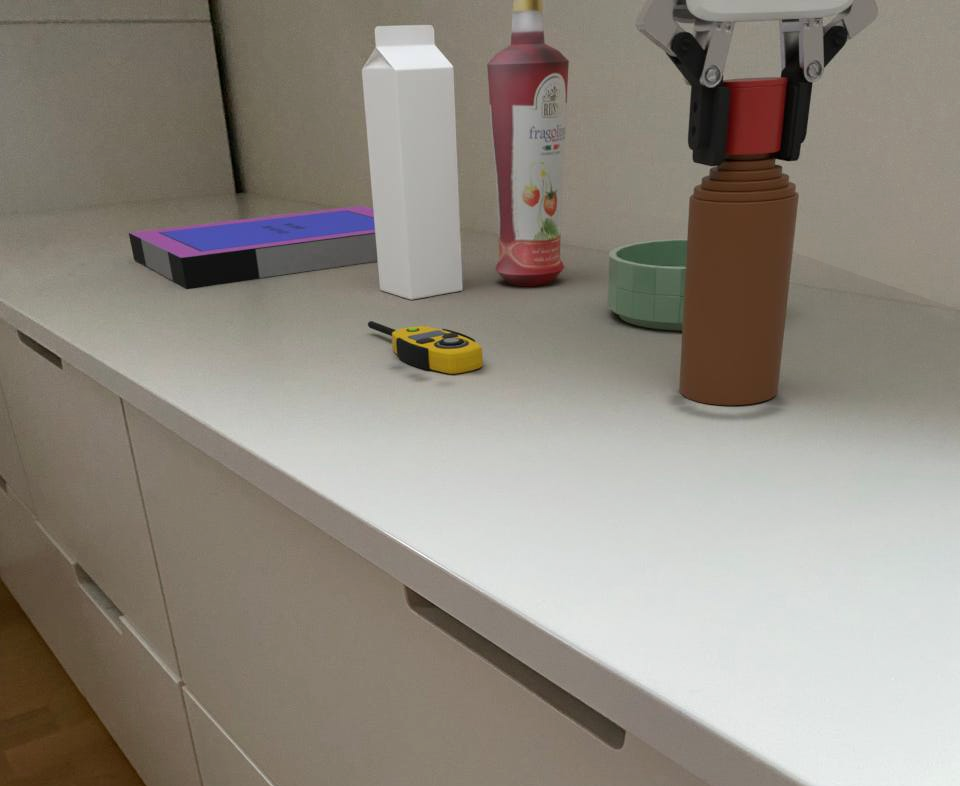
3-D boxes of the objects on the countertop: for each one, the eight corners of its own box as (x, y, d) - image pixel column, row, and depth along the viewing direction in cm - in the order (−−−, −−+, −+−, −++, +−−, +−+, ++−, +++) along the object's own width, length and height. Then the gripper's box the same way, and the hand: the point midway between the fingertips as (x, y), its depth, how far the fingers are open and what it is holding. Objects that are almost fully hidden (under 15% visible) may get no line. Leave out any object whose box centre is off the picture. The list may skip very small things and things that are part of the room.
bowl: (724, 292, 91) (729, 234, 88) (793, 325, 80) (801, 260, 77) (587, 304, 89) (589, 245, 86) (638, 339, 77) (641, 273, 75)
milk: (379, 291, 97) (355, 27, 85) (431, 281, 99) (414, 26, 88) (411, 300, 92) (391, 24, 81) (464, 290, 95) (452, 22, 84)
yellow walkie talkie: (439, 352, 69) (341, 314, 80) (441, 379, 70) (344, 338, 81) (495, 340, 72) (393, 305, 82) (496, 366, 73) (394, 328, 83)
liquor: (527, 293, 93) (523, -69, 79) (478, 282, 98) (466, -60, 84) (582, 280, 97) (588, -66, 83) (532, 271, 102) (529, -58, 88)
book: (128, 232, 115) (360, 205, 127) (134, 259, 116) (363, 230, 129) (180, 257, 99) (439, 224, 112) (186, 288, 101) (440, 252, 114)
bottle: (750, 371, 69) (777, 85, 60) (795, 398, 63) (832, 88, 54) (664, 382, 68) (678, 93, 59) (702, 410, 62) (724, 96, 53)
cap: (720, 156, 56) (726, 82, 55) (707, 150, 60) (711, 80, 58) (788, 152, 56) (795, 78, 54) (770, 146, 60) (777, 76, 58)
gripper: (892, -227, 53) (840, 148, 63) (598, -229, 51) (590, 164, 60) (981, -265, 47) (908, 158, 56) (650, -269, 44) (632, 177, 54)
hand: (744, 157), depth 58 cm, fingers open, 4 cm apart
